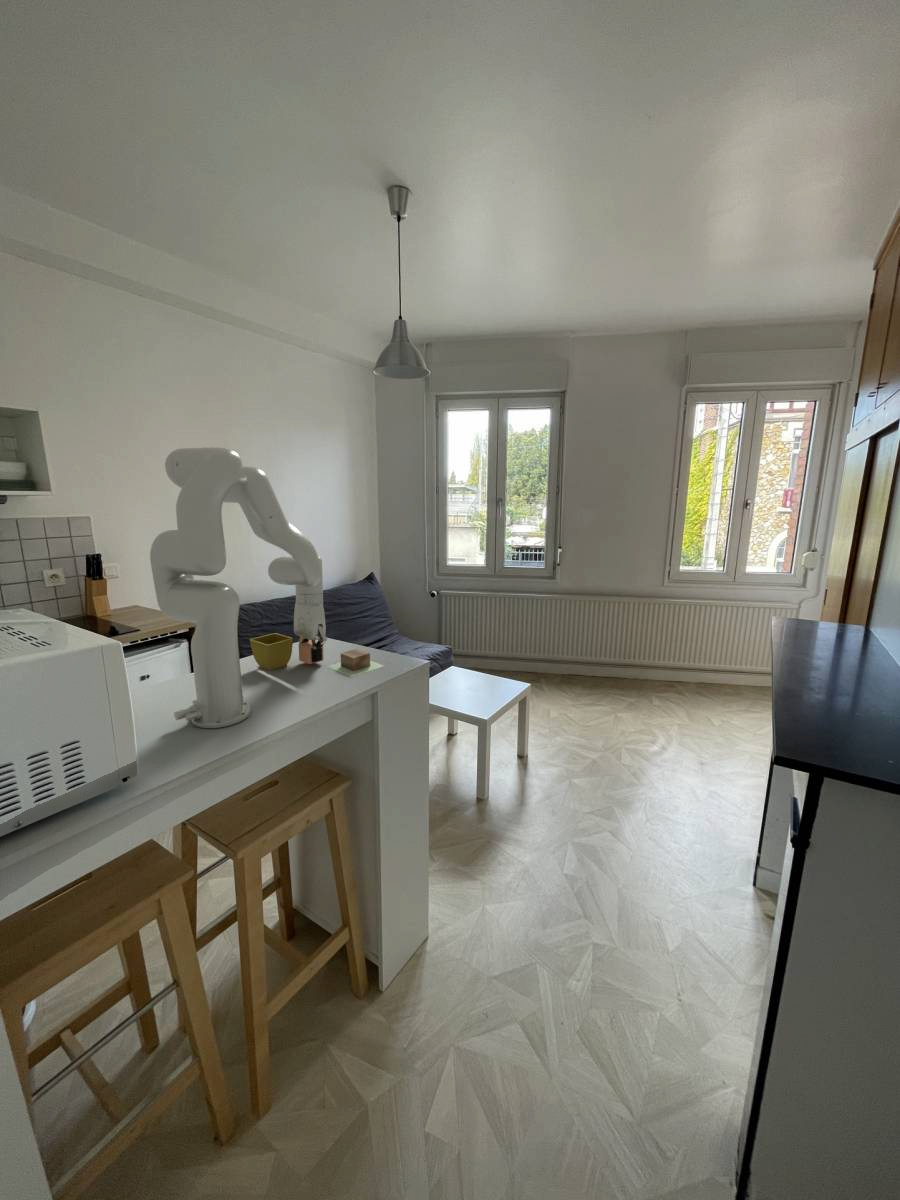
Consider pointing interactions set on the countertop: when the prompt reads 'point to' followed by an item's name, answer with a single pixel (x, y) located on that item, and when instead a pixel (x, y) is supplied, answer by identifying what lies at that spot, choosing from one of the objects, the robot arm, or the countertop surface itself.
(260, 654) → the flower pot
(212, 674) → the robot arm
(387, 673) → the countertop surface
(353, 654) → the base block
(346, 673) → the plate
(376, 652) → the countertop surface
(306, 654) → the cube
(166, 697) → the countertop surface
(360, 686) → the countertop surface
